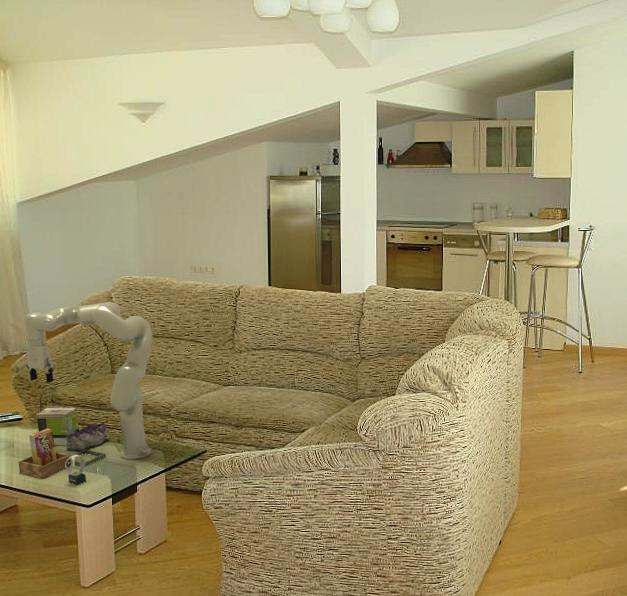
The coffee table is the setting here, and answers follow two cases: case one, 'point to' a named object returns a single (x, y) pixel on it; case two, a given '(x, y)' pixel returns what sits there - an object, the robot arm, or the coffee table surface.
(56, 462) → the crate
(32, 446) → the candy box
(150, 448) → the robot arm
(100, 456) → the grey square frame
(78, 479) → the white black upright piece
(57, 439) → the tea box
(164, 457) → the coffee table surface
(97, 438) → the geode
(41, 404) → the eiffel tower figurine
